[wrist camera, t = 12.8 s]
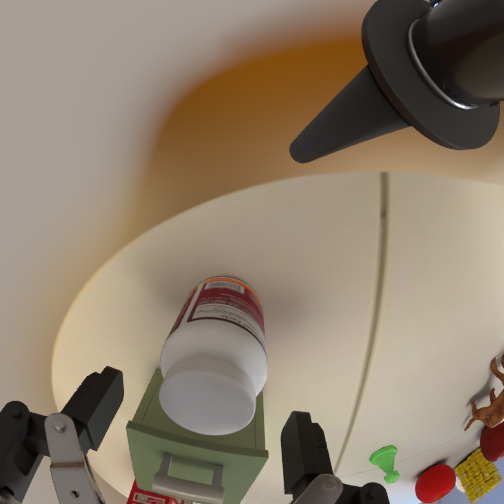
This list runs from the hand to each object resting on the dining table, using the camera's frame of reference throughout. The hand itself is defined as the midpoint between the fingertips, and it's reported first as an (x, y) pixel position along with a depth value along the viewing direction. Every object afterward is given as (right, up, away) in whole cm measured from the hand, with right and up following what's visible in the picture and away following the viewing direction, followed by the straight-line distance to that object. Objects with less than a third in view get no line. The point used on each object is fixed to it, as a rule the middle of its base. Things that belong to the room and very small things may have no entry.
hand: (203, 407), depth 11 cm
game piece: (+22, -23, +17) cm, 36 cm away
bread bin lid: (-3, -13, +7) cm, 15 cm away
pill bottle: (0, +2, +11) cm, 12 cm away
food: (+56, -45, +23) cm, 76 cm away
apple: (+53, -30, +19) cm, 64 cm away
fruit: (+39, -39, +21) cm, 59 cm away
